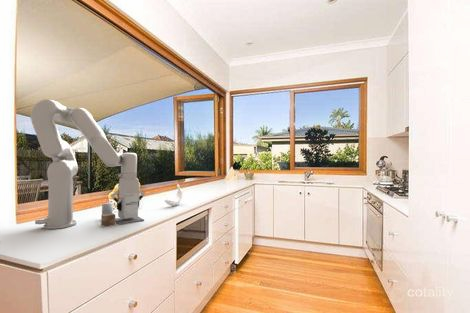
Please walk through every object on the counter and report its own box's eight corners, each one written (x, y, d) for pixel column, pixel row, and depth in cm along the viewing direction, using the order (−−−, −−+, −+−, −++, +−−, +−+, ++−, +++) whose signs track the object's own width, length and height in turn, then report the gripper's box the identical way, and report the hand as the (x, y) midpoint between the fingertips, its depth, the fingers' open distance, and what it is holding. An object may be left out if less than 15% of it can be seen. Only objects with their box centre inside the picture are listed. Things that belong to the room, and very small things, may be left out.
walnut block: (103, 226, 111) (104, 216, 111) (101, 224, 115) (101, 214, 115) (115, 224, 114) (115, 214, 114) (112, 222, 118) (112, 212, 118)
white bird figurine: (164, 207, 155) (164, 185, 155) (177, 202, 173) (178, 183, 174) (170, 208, 154) (170, 186, 154) (183, 203, 172) (184, 183, 172)
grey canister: (106, 220, 122) (106, 204, 122) (99, 219, 123) (100, 204, 124) (114, 218, 126) (114, 203, 127) (107, 217, 128) (108, 202, 129)
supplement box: (124, 219, 117) (124, 194, 118) (117, 216, 122) (118, 192, 122) (138, 216, 123) (138, 192, 123) (131, 214, 128) (131, 191, 128)
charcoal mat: (119, 224, 114) (119, 223, 114) (112, 219, 123) (112, 218, 123) (144, 220, 122) (144, 219, 122) (136, 216, 131) (136, 215, 131)
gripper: (112, 177, 114) (111, 212, 114) (148, 176, 126) (147, 208, 125) (108, 176, 120) (108, 210, 120) (143, 175, 131) (142, 206, 131)
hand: (128, 209), depth 123 cm, fingers open, 8 cm apart
